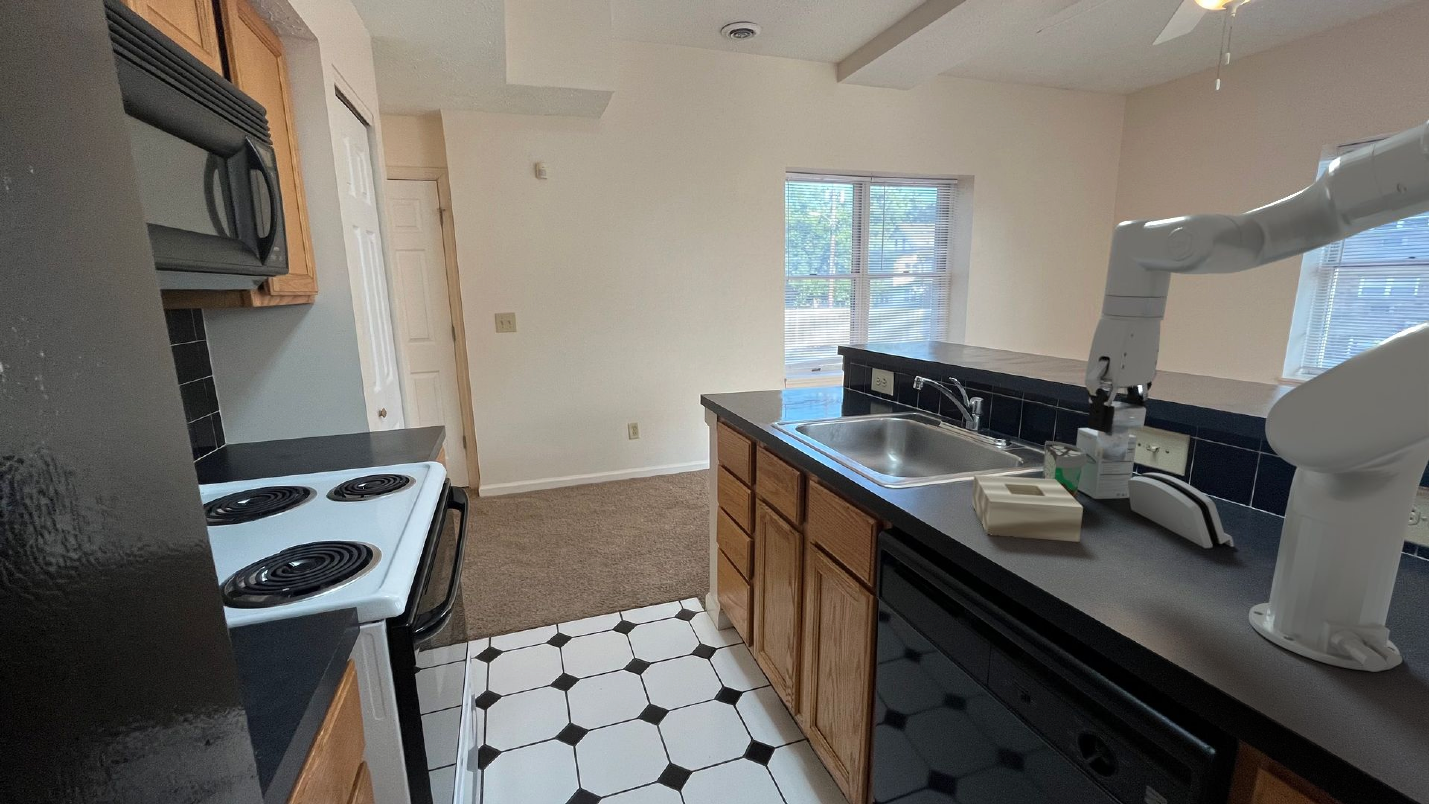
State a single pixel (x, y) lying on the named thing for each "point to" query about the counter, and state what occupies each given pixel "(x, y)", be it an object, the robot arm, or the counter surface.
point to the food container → (1064, 464)
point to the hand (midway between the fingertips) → (1114, 426)
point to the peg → (1119, 431)
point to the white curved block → (1177, 508)
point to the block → (1026, 508)
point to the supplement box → (1104, 469)
